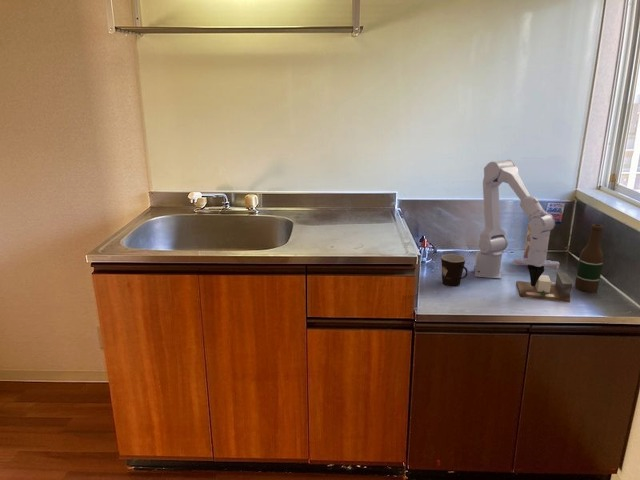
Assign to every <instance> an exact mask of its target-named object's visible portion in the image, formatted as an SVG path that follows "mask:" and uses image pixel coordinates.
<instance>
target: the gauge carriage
mask: <svg viewBox="0 0 640 480" xmlns="http://www.w3.org/2000/svg"><path fill="white" fill-rule="evenodd" d="M555 286H556V281H555V282H554V281H551V279H550V276H549V275H545V274H541V276H540V277H539V279H538V281H537V283H536V285H535V287H536V289H537V291H538V292H543V293H544V295H546V293H545V292H548V293H550V288H551V287H555Z"/></svg>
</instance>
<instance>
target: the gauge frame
mask: <svg viewBox="0 0 640 480" xmlns="http://www.w3.org/2000/svg"><path fill="white" fill-rule="evenodd" d="M555 283H556V286H555V287H551V288H550V293H548V292H545V293H546V295H544V293H543V292H538V291H537V289H536V287H535V286H531V281H521V280H516V282H515V284H516V288H517V290H518V296H519V298H523V299H525V298H526V299H535V300H536V299H537V300H546V301H554V302H564V303H570V302H571V296H572V295H571V293H572V289H573V283H572V282H571V280H570V277H569V276H568V274H567V273H566V272H563V273H562V272H557V273H556V277H555Z"/></svg>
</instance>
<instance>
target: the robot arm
mask: <svg viewBox="0 0 640 480" xmlns="http://www.w3.org/2000/svg"><path fill="white" fill-rule="evenodd" d="M502 183H505V184H508V186H509V187H510V189H512V191H513V192H514V194H515V195H516V197H518V199H519V200H520V202H519V206H520V208H521V210H522V212H523V213H524V214H525V216H526V218H527V219H528V221H529V222H528V224H529V228H530V230H531V233H530V235H531V240H530V247H529V254H528V258H524V257H520V258H519V257H518V258H517V257H515V258H513V262H512V263H513V266H526V265H527V266H526V268H527V267H528V268H527V270H528V274H529V278H530V279H529V280H530V282H531V286H535V285H536V283H537V281H538V279H539V277H540V276H541V275H543V273H544V272H545V268H553V269H557V270H559V268H560V262H559V261H556V260H555V261H553V260H549V259H547V254H548V248H549V241H550V234H551V230H553V229H554V228H555V226H556V221H555V218H554V216H553V215H552V214H551V213H548V212H547V211H546V210H544V207H543V206H542V205H541V203H540V200H539V199H538V198H537V197H536V196H534V195H531V194H530V193H529V191H528V189H527V188H526V186H525V184H524V182H523V180H522V177H521V176H520V175H519V167H518V166H516V163H515V162H514V161H513V160H511V159H507V160H499V161H490V162H488V163H487V164H486V165H485V166H484V168H483V180H482V191H483V193H482V195H483V197H482V198H483V211H484V212H483V214H484V229H483V231H481V232H480V234H479V242H478V248H479V249H478V250H479V251H476V254H475V261H474V268H473V270H474V277H478V278H489V279H496V280H497V279H502V274H501V265H502V258H503V257H502V256H503V253H504V250H506V249H508V248H507V247H508V239H507V237H506V231H505V230H504V229H502V228H501V216H500V215H501V213H500V193H499V191H500V189H499V187H500V185H501V184H502Z"/></svg>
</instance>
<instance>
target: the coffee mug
mask: <svg viewBox="0 0 640 480" xmlns="http://www.w3.org/2000/svg"><path fill="white" fill-rule="evenodd" d="M440 258H441V259H440V261H441V280H442V281H441V284H442V285H445V286H447V287H460V285H461V282H462V281H461V280H463V279H465V278H467V276H468V269H467V268H466V267H465V264H466V257H465V256H463V255H459V254H456V253H455V254H454V253H447V254H446V253H445V254H442V255H441V257H440ZM464 270H465V274H464V273H463V272H464ZM463 274H464V276H463Z"/></svg>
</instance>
